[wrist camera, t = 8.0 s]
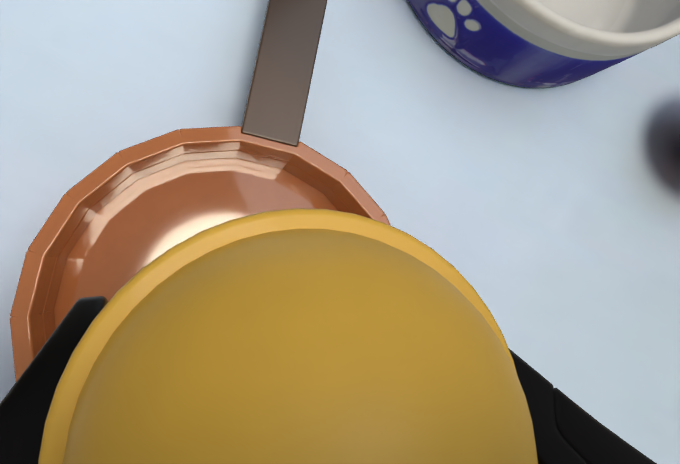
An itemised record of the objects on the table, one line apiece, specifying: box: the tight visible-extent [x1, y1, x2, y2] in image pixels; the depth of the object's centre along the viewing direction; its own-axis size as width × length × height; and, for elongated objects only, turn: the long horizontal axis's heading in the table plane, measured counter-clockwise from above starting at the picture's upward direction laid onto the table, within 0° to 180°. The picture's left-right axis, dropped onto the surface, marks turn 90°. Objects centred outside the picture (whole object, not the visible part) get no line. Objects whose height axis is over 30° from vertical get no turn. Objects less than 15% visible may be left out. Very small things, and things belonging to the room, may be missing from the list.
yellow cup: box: [38, 208, 538, 464], centre depth 10 cm, size 5×5×14 cm
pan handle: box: [241, 0, 327, 147], centre depth 21 cm, size 9×2×1 cm, turn 169°
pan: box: [10, 126, 391, 382], centre depth 20 cm, size 14×14×3 cm
